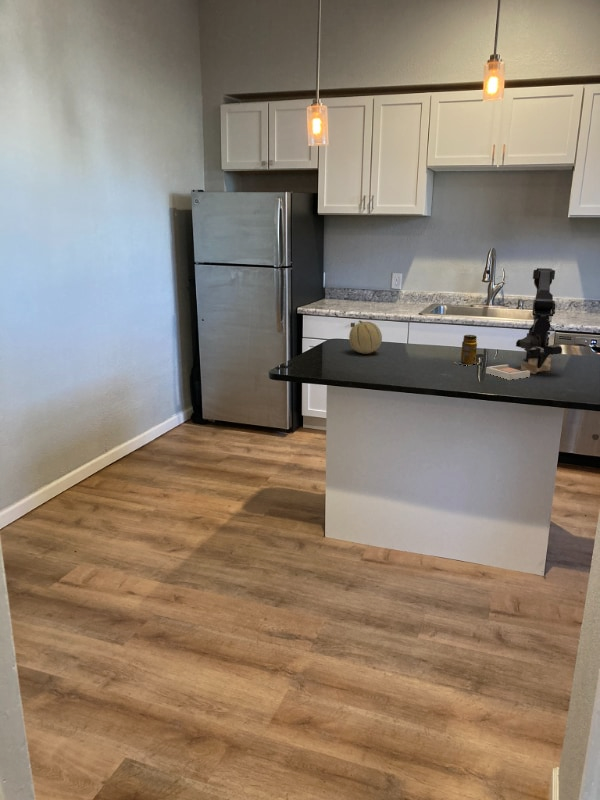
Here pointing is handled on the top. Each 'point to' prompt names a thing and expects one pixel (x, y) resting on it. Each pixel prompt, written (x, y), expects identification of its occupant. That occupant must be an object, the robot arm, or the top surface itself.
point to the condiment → (468, 350)
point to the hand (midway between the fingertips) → (536, 367)
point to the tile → (509, 370)
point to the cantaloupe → (365, 337)
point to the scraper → (536, 365)
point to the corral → (509, 376)
